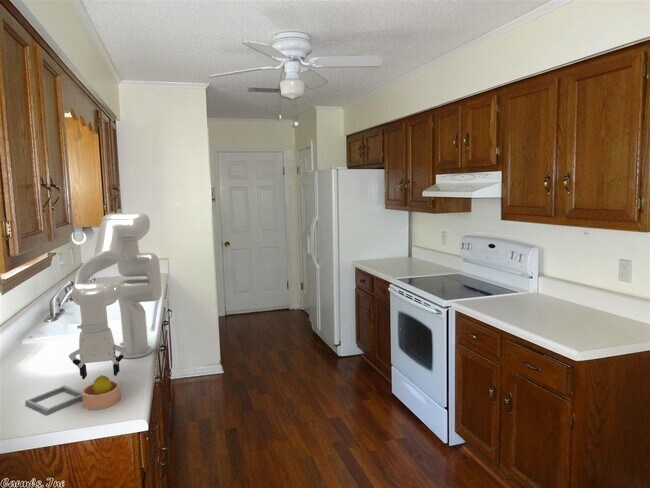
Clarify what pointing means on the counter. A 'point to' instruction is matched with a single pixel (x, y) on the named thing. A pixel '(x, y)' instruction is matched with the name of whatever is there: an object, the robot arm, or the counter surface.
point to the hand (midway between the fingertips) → (100, 375)
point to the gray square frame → (64, 388)
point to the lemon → (102, 385)
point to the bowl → (100, 397)
